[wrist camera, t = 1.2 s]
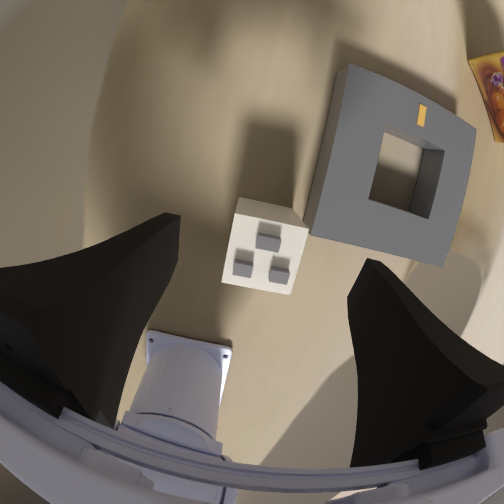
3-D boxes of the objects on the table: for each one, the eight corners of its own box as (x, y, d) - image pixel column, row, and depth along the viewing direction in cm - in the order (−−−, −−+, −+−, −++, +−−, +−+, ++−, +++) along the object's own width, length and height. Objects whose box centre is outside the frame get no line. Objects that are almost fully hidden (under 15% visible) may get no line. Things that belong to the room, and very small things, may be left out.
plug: (279, 258, 22) (291, 299, 15) (228, 248, 21) (220, 287, 15) (292, 208, 20) (311, 232, 14) (239, 196, 20) (234, 215, 14)
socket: (424, 254, 22) (443, 267, 19) (302, 224, 21) (310, 235, 18) (455, 129, 18) (477, 129, 15) (336, 74, 17) (349, 62, 14)
